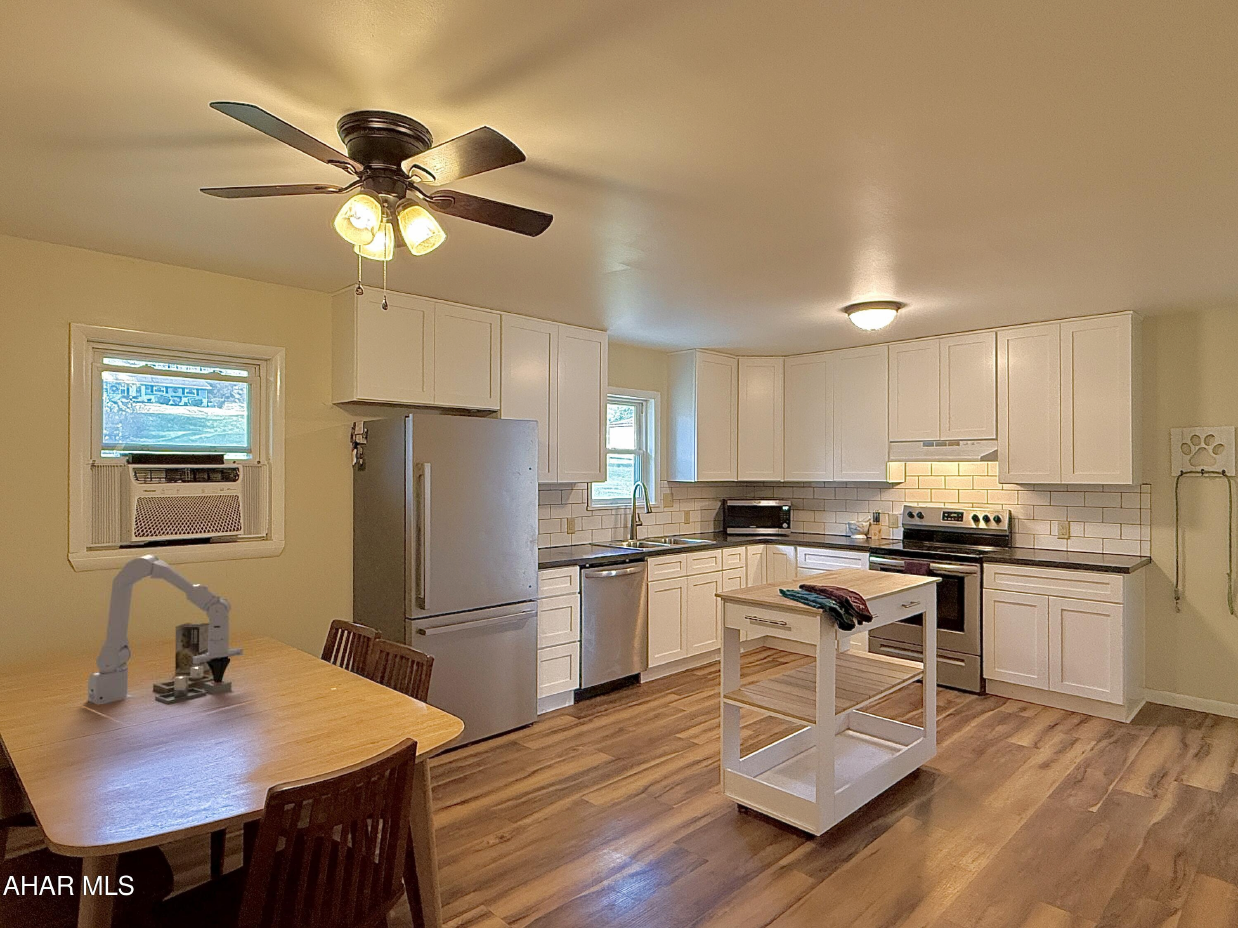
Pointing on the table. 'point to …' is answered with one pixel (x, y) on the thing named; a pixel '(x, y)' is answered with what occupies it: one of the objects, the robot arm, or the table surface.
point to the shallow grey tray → (169, 697)
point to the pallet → (169, 685)
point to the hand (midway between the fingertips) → (217, 681)
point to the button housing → (217, 687)
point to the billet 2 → (196, 673)
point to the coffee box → (190, 646)
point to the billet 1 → (180, 686)
